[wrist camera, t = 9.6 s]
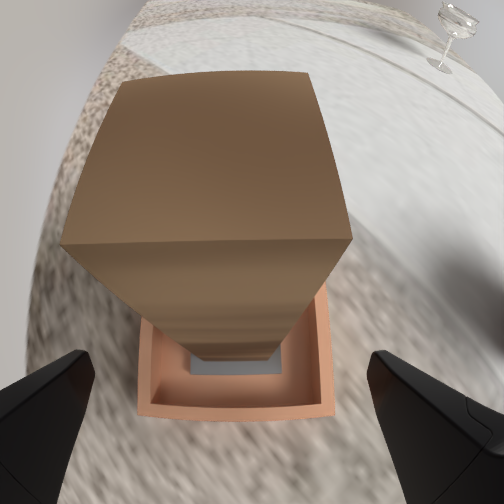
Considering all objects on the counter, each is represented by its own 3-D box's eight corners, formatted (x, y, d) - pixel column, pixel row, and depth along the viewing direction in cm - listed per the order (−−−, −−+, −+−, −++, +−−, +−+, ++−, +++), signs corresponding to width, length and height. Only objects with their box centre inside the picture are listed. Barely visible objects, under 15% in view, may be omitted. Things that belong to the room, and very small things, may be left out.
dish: (323, 412, 15) (335, 415, 13) (151, 412, 15) (137, 415, 13) (311, 256, 20) (319, 238, 18) (160, 257, 20) (150, 239, 17)
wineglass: (422, 63, 35) (443, 4, 24) (422, 51, 38) (440, -1, 27) (458, 82, 34) (483, 26, 23) (454, 68, 36) (476, 18, 26)
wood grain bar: (280, 373, 16) (421, 297, 3) (192, 374, 16) (7, 298, 3) (276, 290, 18) (336, 59, 5) (193, 291, 18) (101, 70, 5)
